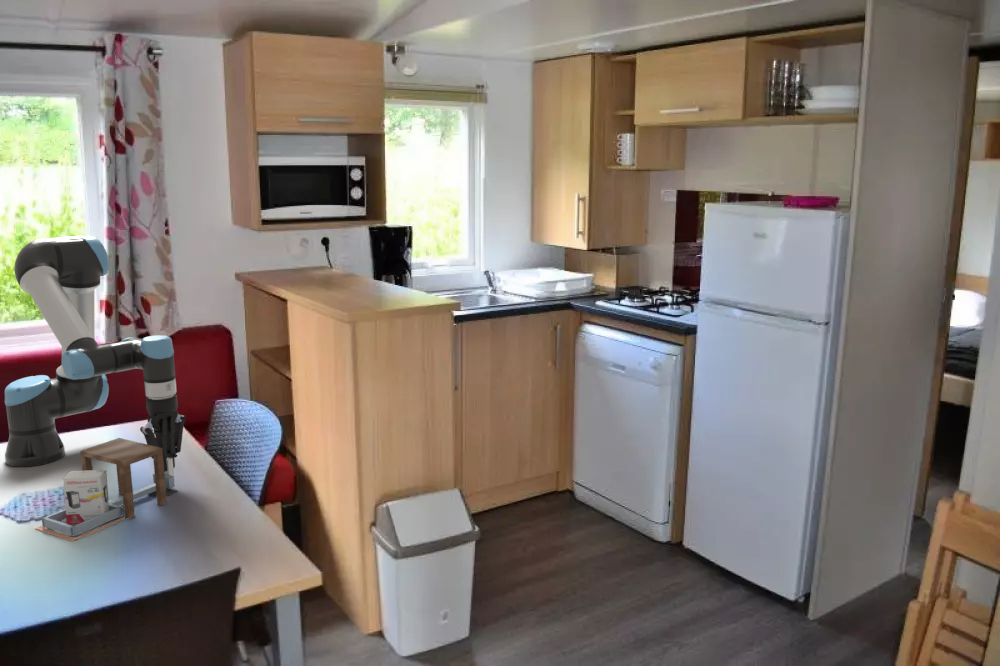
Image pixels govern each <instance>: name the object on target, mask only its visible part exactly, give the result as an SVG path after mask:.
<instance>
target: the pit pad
mask: <svg viewBox="0 0 1000 666" xmlns="http://www.w3.org/2000/svg"><path fill="white" fill-rule="evenodd" d="M176 493H178V490H176V489H173V488H171V489H168V488H166V498H167V497H169V496H171V495H174V494H176ZM147 495H149V496H152V497H154V498H155V497H156V498H157V495H156V491H154V492H152V493H149V494H147Z"/></svg>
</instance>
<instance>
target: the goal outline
mask: <svg viewBox="0 0 1000 666" xmlns="http://www.w3.org/2000/svg"><path fill="white" fill-rule="evenodd" d="M125 519H126V518H125V516H124V517H123V516H122V517H120V518H118V519H116V520H113V521H112V522H109V523H107V524H104V525H102V526H100V527H99V526H98V527H97V528H94V529H92V530H90V531H89V532H88V531H87V532H84V534H81V535H79V536H77V537H74V536H70V535H67V534H64V533H61V532H58V531H55V530H52V529H49V528H46V527H44V526H43V525H40V526H38V527H36V528H35V530H37V531H40V532H43V533H45V534H49V535H52V536H54V537H58V538H61V539H63V540H67V541H70V542H75V541H78V540H81V539H82V537H83V538H85V537H87V536H89V535H91V534H95V533H96V532H99V531H101V530H103V529H105V528H107V527H110V526H112V525H115V524H116V523H119V522H122V521H124V520H125Z"/></svg>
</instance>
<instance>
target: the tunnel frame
mask: <svg viewBox="0 0 1000 666" xmlns="http://www.w3.org/2000/svg"><path fill="white" fill-rule="evenodd" d="M152 456H153V458H152ZM148 458H149V459H150V458H152V459H153V460H152V461H153V469H154V474H155V484H156V495H157V497H156V504H157V505H159V506H163V505H166V504H168V500H167V497H166V486H165V474H164V463H163V451H162V448H160V447H156V446H152V445H148V444H147V443H143V442H138V441H134V440H130V439H124V438H122V437H121V438H120V437H118V438H115V439H111V440H109V441H106V442H102V443H99V444H97V445H94V446H90V447H88V448H85V449H82V450H80V460H81V469H82V470H81V471H86V470H93V462H92V461H93V460H97V461H100V462H101V461H102V462H105V463H109V464H113V465H115V466H116V467H115V468H116V475H117V477H116V478H117V487H118V494H119V495H122V496H123V502H124V504H123V513H124V518H125V519H127V520H131V519H133V518H136V512H135V511H136V509H135V500H134V499H133V492H134V491H133V481H132V480H133V479H132V469H131V465H133V464H135V463H137V462H141V461H143V460H146V459H148ZM92 459H93V460H92Z"/></svg>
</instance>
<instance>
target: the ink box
mask: <svg viewBox="0 0 1000 666" xmlns="http://www.w3.org/2000/svg"><path fill="white" fill-rule="evenodd" d="M62 480H63V492H64V504H65V509H66V517H67V518H66V524H68V525H72V526H75V525H77V524H80V523H82V522H85V521H87V520H89V519H92V518H94V517H97V516H99V515H101V514H104V513H106V512H109V502H110V500H109V488H108V486H109V484H108V472H107V469H106V470H105V469H92V470H86V471H82V470H71V471H69V472H68V473H67V474H66V475H65V476H64V477H63V478H62Z"/></svg>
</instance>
